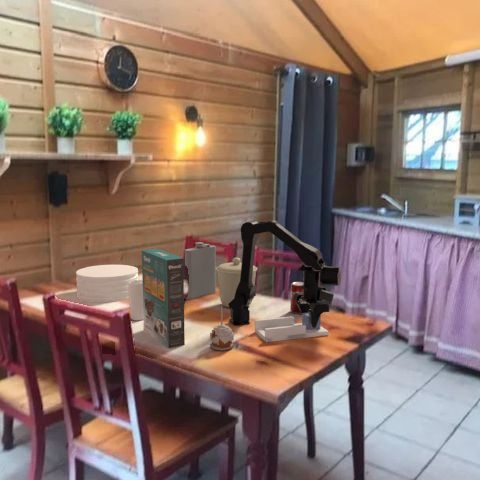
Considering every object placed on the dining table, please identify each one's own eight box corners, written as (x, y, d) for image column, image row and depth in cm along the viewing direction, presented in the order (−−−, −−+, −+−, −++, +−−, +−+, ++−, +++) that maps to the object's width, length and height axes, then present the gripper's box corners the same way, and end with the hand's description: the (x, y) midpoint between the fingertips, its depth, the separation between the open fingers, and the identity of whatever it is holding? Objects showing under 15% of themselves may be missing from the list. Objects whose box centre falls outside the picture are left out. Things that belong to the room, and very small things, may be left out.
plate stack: (151, 292, 246) (150, 268, 244) (106, 305, 222) (106, 280, 220) (109, 284, 260) (108, 262, 259) (64, 296, 237) (62, 272, 235)
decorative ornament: (210, 343, 176) (209, 301, 174) (232, 343, 177) (232, 300, 175) (210, 352, 169) (210, 307, 166) (234, 351, 169) (234, 307, 167)
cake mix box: (184, 344, 175) (183, 258, 170) (168, 348, 172) (166, 260, 167) (158, 327, 193) (157, 248, 189) (143, 330, 190) (141, 250, 186)
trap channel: (266, 342, 178) (266, 329, 177) (254, 331, 189) (255, 319, 188) (328, 335, 185) (328, 323, 185) (314, 325, 196) (314, 314, 195)
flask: (210, 291, 247) (210, 239, 243) (217, 292, 244) (216, 240, 240) (182, 298, 235) (181, 244, 231) (189, 299, 232) (188, 245, 228)
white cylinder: (150, 317, 205) (149, 281, 203) (140, 322, 199) (139, 284, 197) (136, 315, 208) (135, 279, 205) (125, 320, 202) (124, 282, 199)
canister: (234, 314, 210) (234, 263, 207) (207, 304, 224) (206, 257, 221) (265, 306, 222) (266, 258, 219) (238, 297, 236) (238, 252, 232)
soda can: (307, 314, 209) (307, 286, 208) (289, 313, 211) (290, 285, 209) (308, 309, 217) (309, 282, 215) (291, 308, 218) (291, 281, 216)
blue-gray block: (307, 330, 186) (308, 316, 185) (302, 325, 191) (302, 312, 190) (320, 328, 188) (320, 315, 187) (314, 324, 192) (314, 311, 192)
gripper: (343, 287, 180) (342, 330, 182) (319, 276, 198) (318, 315, 200) (315, 290, 177) (313, 333, 179) (293, 278, 194) (292, 318, 197)
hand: (310, 324), depth 189 cm, fingers open, 6 cm apart
